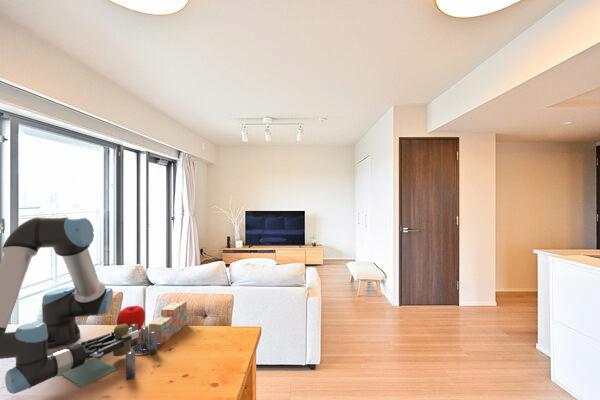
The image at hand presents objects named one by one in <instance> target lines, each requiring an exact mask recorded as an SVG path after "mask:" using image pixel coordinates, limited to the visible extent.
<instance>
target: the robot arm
mask: <svg viewBox="0 0 600 400" xmlns="http://www.w3.org/2000/svg"><path fill="white" fill-rule="evenodd" d="M94 231H95V230H94V226H93V223H92V222H91V221H90V220H89V219H88V218H87V217H84V216H76V215H75V216H73V215H70V216H38V217H37V216H36V217H34V218H30V219H28V220H26V221H24V222H23V223H22V224H20V225H18V226H17V227H16V228H15V229H14V230H13V231H12V232H11V233H10V234H9V236H8V237H7V239H6V240H5V242H4V243H3V246H2V248H1V252H2V254H3V255H2V258H1V261H0V359H1V360H2V359H12V358H15V366H14V367H12V368H10V369H8V370H7V371H6V373H5V377H4V379H5V380H4V382H5V387H6V390H7V391H8V392H9V394H13V395H14V394H19V393H20V392H23V391H25V390H27V389H31V388H32V387H35V386H37V385H39V384H41V383H44V382H46V381H48V380H50V379H53V378H55V377H60V376H61V374H62V373H65V372H67V371H69V370H70V369H74V368H76V367H79V366H81V365H83V364H84V362H85V361H87V360H89V359H92V358H95V357H96V358H97V359H101V358H103V357H104V356H107V355H108V354H110V353H113V351H115V350H117V349H120V348H122V347H124V343H126V342H128V341H129V342H130V340H133V339H135V338H137V337H138V338H140V336H139V335H140V330H136V331H134V332H132V328H129V331H128V332H127V335H124V336H122V337H121V338H119V339H116V340H115V334H114V331H111V333H110V332H108V333H104V334H103V335H100V336H97V337H95V338H91V339H88V340H85V341H81V343H76V344H73V345H71V346H68V345H70V344H72V343H74V342H76V341H78V340H79V339H80V337H81V330H80V328H79V325H78V323H77V320H76V318H78V317H81V318H82V317H92V316H93V317H94V316H97V317H98V316H102V315H106V314H107V313H108V312H109V311H110V309H111V306H112V303H113V298H114V297H113V296H114V292H113V291H114V290H113V289H112V288H107V287H106V286H105V284H104V283H103V282H102V281H100V280H99V277H98V275H97V271H96V268H95V266H94V263H93V260H92V256H91V254H90V251H89V247H90V246H91V244H92V243H93V241H94V237H95V234H94ZM41 248H52V249H53V250H54V253H55V254H56V255H57V256H59V257H62V259H63V262H64V264H65V266H66V267H65V268H66V269H67V271H68V274H69V276H70V278H71V281H72V283H73V286H67V287H61V288H57V289H54V290H50V291H49V292H47V293H45V294H44V295H43V297H42V302H41V309H42V310H41V312H42V315H41V316H42V319H41V320H42V321H34V322H27V323H24V324H22V325H20V326H19V327H17V328H16V329H15V331H8V332H6V331H7V327H8V325H9V323H10V319H11V318H12V317H11V316H12V314H13V311H14V309H15V306H16V302H17V301H18V296H19V294H20V291H21V288H22V286H23V283H24V281H25V277H26V275H27V273H28V269H29V266H30V264H31V261H32V258H33V257H35V256H37V254H38V251H39V249H41ZM64 346H68V347H67V348H63V349H59V350H58V351H55V352H53V353H50V354H48V350H50V349H57V348H61V347H64Z"/></svg>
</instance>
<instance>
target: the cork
mask: <svg viewBox="0 0 600 400" xmlns="http://www.w3.org/2000/svg"><path fill="white" fill-rule="evenodd" d="M128 331H129V326H128V325H127V324H120V325H117V324H116V326H114V328H113V332H114V334H115V339H114V340H116V339H119V338H121V337H122V336H124V335H127V332H128ZM128 351H131V347H130V341H128V342H126V343H124V347H122V348H120V349H117V350H115V351H113V352H112V356H114V357H122V356H126V353H127V352H128Z"/></svg>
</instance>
